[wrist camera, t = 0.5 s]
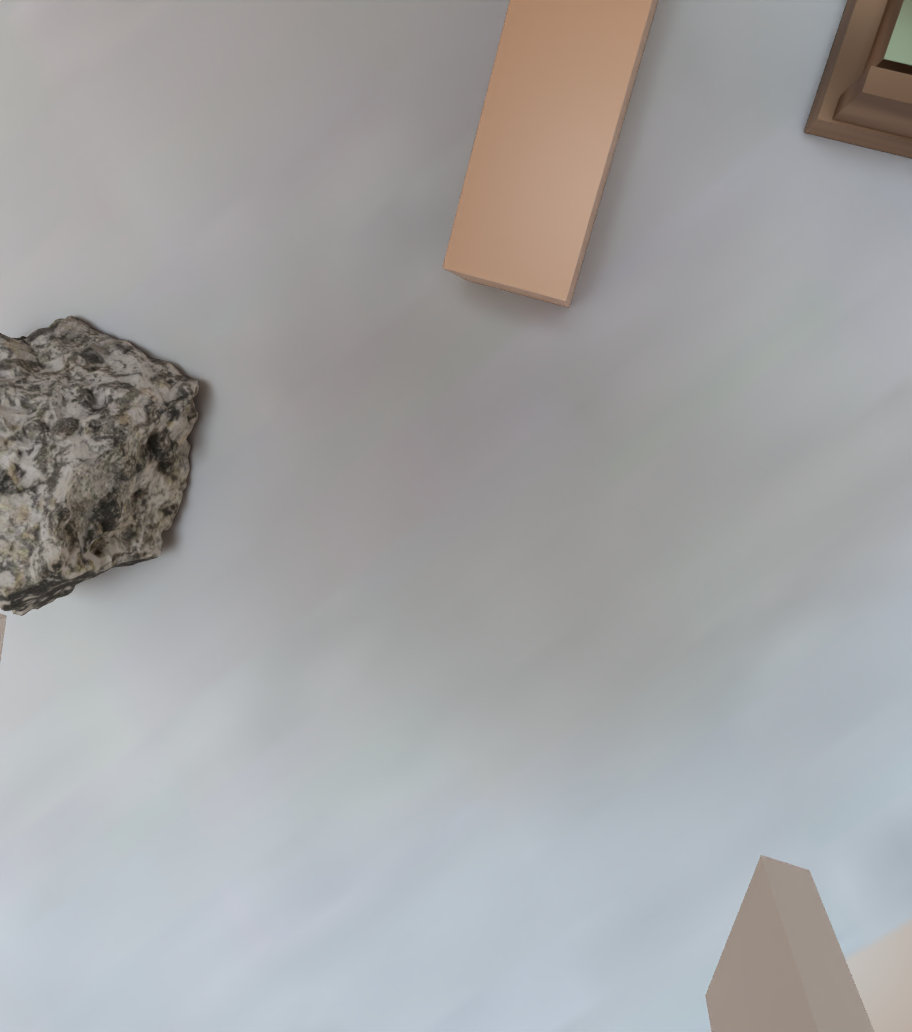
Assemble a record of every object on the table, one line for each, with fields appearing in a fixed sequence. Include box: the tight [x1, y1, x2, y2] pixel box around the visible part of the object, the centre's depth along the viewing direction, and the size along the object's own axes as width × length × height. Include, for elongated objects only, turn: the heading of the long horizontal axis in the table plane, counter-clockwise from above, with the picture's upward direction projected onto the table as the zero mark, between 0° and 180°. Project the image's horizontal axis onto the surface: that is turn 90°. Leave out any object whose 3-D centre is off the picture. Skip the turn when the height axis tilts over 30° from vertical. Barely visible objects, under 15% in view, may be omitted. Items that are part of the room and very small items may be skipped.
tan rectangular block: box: [443, 0, 658, 308], centre depth 31 cm, size 14×4×6 cm, turn 165°
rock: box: [0, 316, 199, 616], centre depth 38 cm, size 13×10×10 cm
